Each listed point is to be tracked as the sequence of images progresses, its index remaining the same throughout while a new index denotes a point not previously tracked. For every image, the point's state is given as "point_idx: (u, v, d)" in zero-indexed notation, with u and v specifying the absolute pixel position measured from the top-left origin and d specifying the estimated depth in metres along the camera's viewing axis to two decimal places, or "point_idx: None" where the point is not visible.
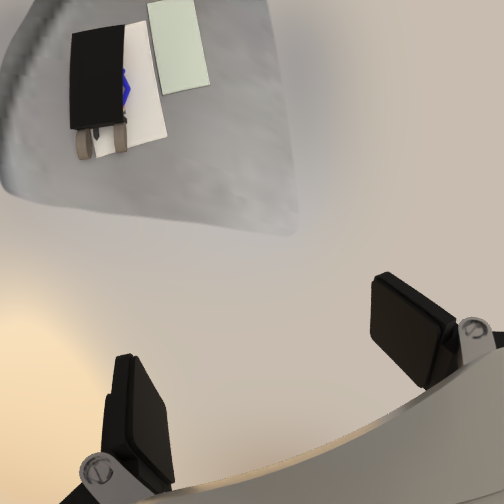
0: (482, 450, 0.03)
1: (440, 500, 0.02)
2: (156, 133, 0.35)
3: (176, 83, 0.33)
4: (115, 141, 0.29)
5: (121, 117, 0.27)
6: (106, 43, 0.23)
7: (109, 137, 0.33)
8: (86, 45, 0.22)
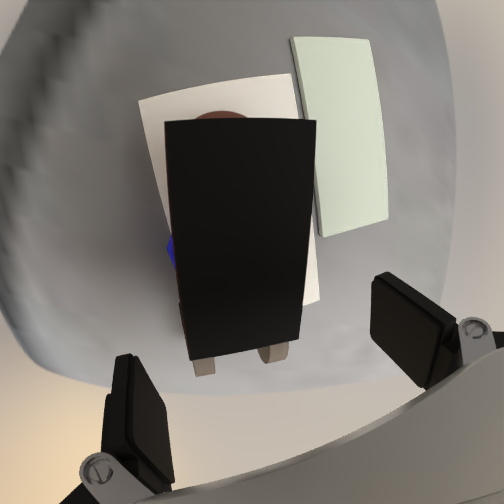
0: (482, 450, 0.03)
1: (440, 500, 0.02)
2: (304, 297, 0.23)
3: (345, 218, 0.21)
4: (272, 358, 0.18)
5: (296, 335, 0.16)
6: (273, 171, 0.12)
7: None
8: (215, 168, 0.11)
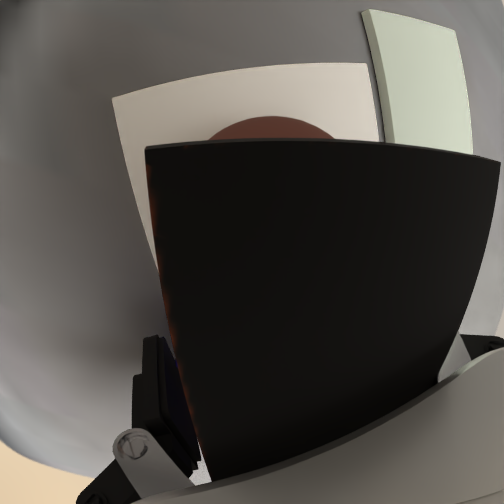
0: (482, 450, 0.03)
1: (440, 500, 0.02)
2: None
3: None
4: None
5: None
6: (431, 279, 0.04)
7: None
8: (316, 299, 0.04)
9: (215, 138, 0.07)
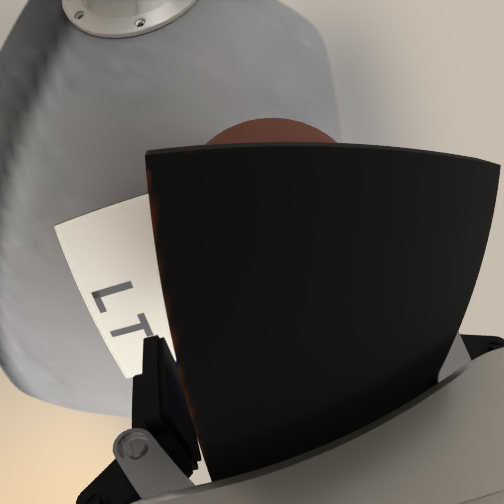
0: (482, 450, 0.03)
1: (440, 500, 0.02)
2: None
3: None
4: None
5: None
6: (430, 283, 0.04)
7: (137, 359, 0.27)
8: (315, 303, 0.04)
9: (215, 140, 0.07)
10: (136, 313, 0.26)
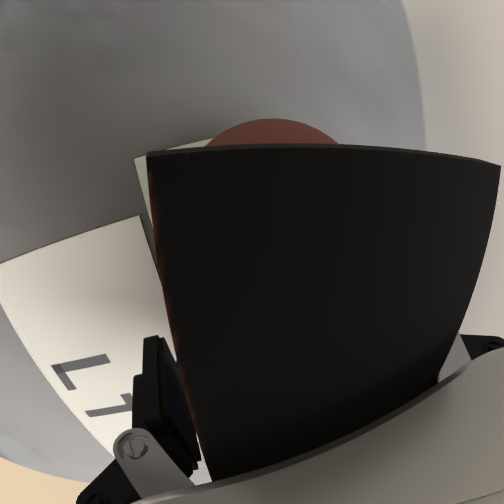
0: (482, 450, 0.03)
1: (440, 500, 0.02)
2: None
3: None
4: None
5: None
6: (430, 283, 0.04)
7: None
8: (317, 304, 0.04)
9: (216, 141, 0.07)
10: (119, 393, 0.16)
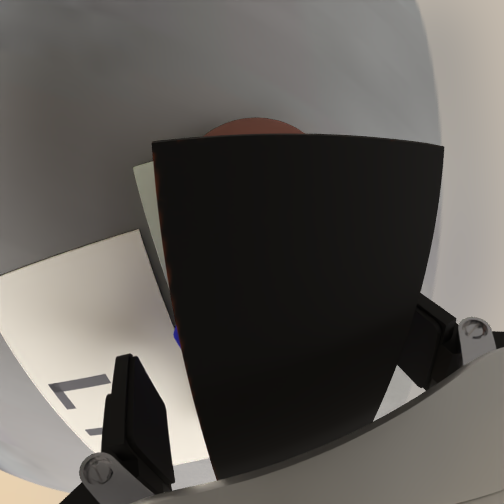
0: (482, 450, 0.03)
1: (440, 500, 0.02)
2: None
3: None
4: None
5: None
6: (378, 244, 0.06)
7: None
8: (275, 251, 0.05)
9: None
10: None
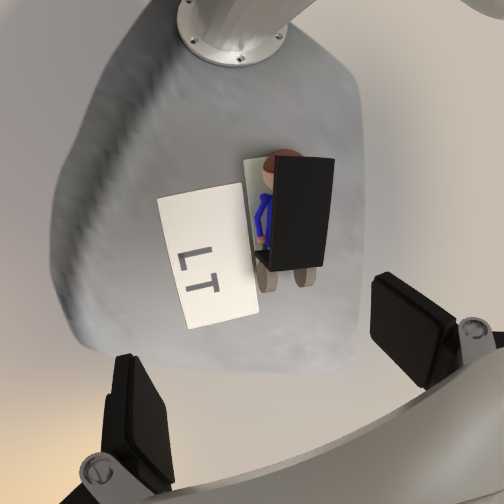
0: (482, 450, 0.03)
1: (440, 500, 0.02)
2: (249, 310, 0.39)
3: None
4: (307, 281, 0.33)
5: (321, 263, 0.32)
6: (316, 179, 0.28)
7: (202, 311, 0.38)
8: (294, 177, 0.27)
9: (274, 154, 0.30)
10: (210, 272, 0.36)
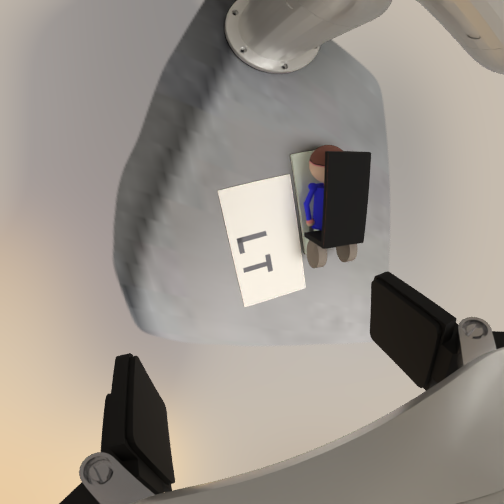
0: (482, 450, 0.03)
1: (440, 500, 0.02)
2: (297, 286, 0.44)
3: None
4: (350, 256, 0.38)
5: (362, 240, 0.36)
6: (357, 170, 0.32)
7: (257, 290, 0.43)
8: (341, 168, 0.32)
9: (320, 149, 0.34)
10: (264, 254, 0.41)
